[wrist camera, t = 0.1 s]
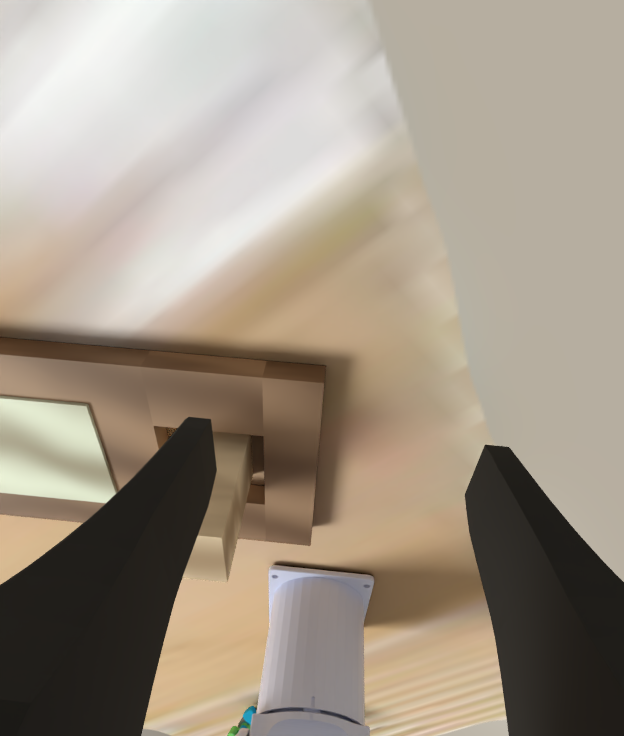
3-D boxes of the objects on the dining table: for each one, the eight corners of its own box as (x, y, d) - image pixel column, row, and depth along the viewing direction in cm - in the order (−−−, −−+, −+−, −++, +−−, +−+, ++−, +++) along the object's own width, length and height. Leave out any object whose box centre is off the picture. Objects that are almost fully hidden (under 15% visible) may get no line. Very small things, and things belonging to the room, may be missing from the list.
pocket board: (312, 527, 31) (310, 548, 30) (2, 496, 32) (-12, 515, 31) (325, 366, 23) (323, 385, 22) (-95, 328, 24) (-121, 346, 22)
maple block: (252, 473, 28) (227, 582, 23) (190, 467, 29) (149, 574, 23) (250, 428, 26) (221, 537, 20) (182, 422, 26) (135, 529, 21)
